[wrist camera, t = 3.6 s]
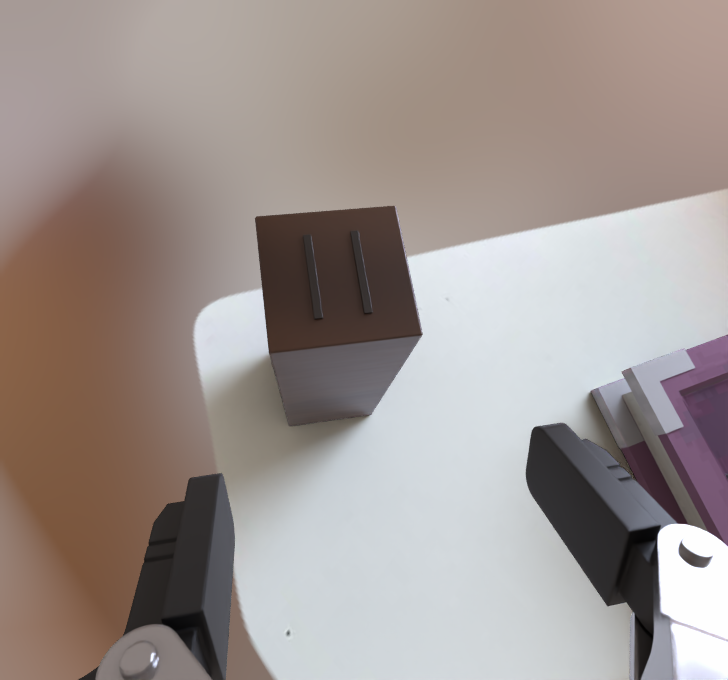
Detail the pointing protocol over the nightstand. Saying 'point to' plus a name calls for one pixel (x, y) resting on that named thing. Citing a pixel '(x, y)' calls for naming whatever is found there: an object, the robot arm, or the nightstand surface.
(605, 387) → the book
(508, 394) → the nightstand surface
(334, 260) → the knife block
